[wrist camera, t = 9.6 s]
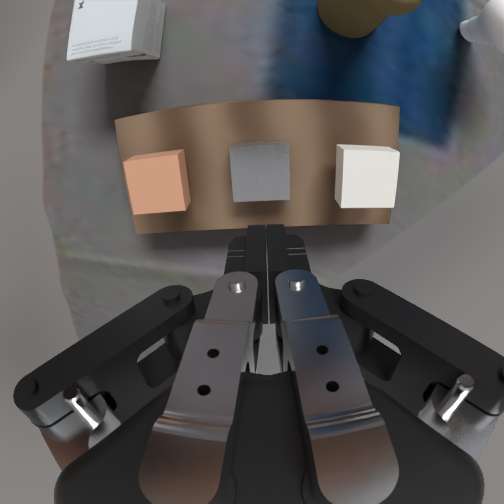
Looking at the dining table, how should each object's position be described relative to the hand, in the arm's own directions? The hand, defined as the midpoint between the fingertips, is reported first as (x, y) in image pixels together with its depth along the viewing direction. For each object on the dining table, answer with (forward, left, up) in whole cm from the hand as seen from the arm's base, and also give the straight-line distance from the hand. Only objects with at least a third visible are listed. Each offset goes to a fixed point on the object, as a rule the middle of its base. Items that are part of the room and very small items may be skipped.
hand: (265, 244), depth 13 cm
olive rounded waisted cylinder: (-9, -15, -17) cm, 24 cm away
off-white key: (-8, 0, -11) cm, 13 cm away
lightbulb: (-23, -16, -17) cm, 33 cm away
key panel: (0, 0, -17) cm, 17 cm away
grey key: (0, 0, -13) cm, 13 cm away
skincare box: (+11, -14, -17) cm, 25 cm away
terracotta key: (+8, 0, -11) cm, 14 cm away
